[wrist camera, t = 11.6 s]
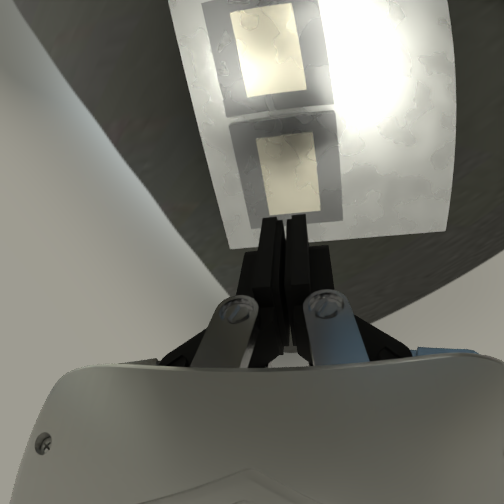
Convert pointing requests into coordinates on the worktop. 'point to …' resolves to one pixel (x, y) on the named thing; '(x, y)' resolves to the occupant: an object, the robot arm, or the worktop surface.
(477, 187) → the worktop surface
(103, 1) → the worktop surface
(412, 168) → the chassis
